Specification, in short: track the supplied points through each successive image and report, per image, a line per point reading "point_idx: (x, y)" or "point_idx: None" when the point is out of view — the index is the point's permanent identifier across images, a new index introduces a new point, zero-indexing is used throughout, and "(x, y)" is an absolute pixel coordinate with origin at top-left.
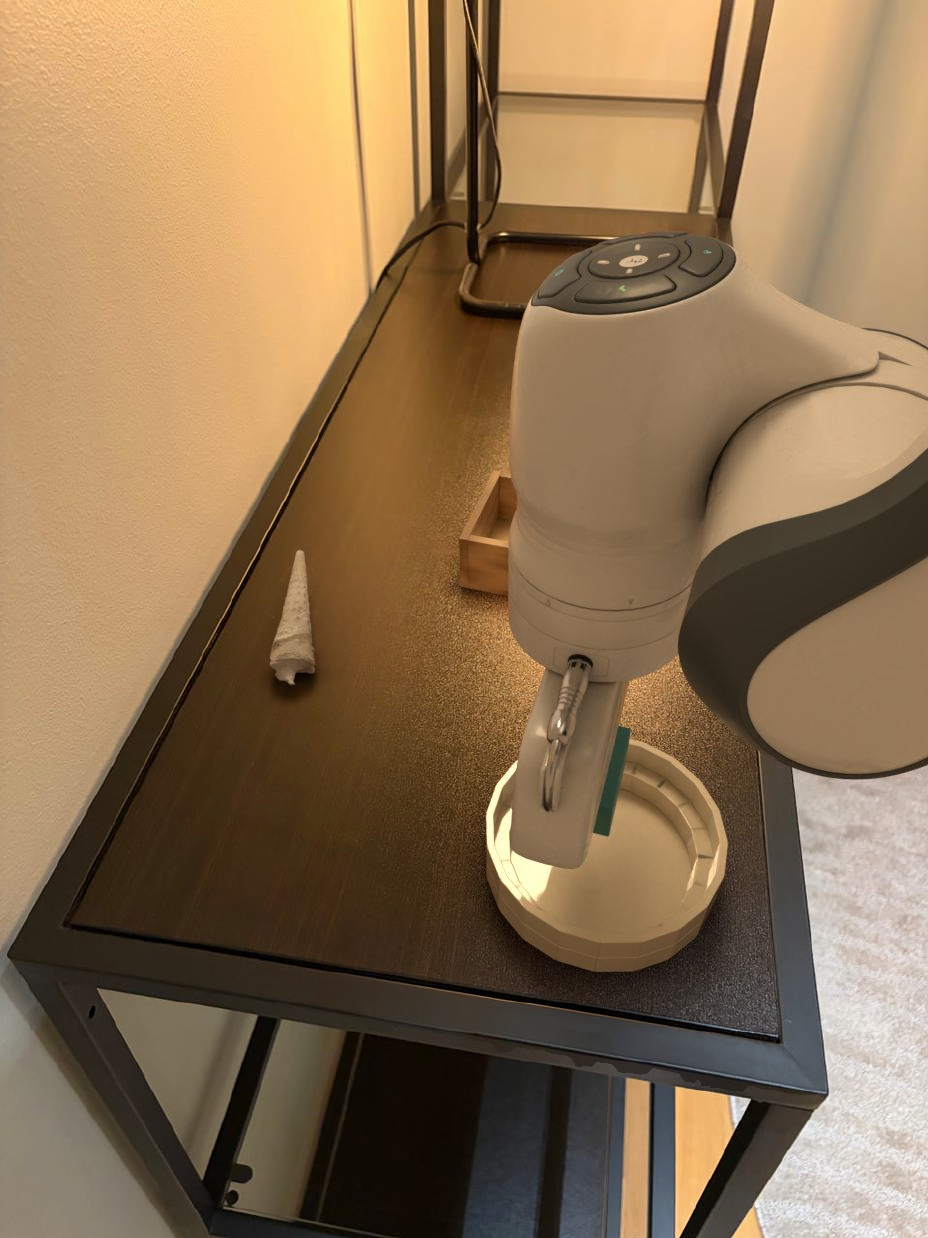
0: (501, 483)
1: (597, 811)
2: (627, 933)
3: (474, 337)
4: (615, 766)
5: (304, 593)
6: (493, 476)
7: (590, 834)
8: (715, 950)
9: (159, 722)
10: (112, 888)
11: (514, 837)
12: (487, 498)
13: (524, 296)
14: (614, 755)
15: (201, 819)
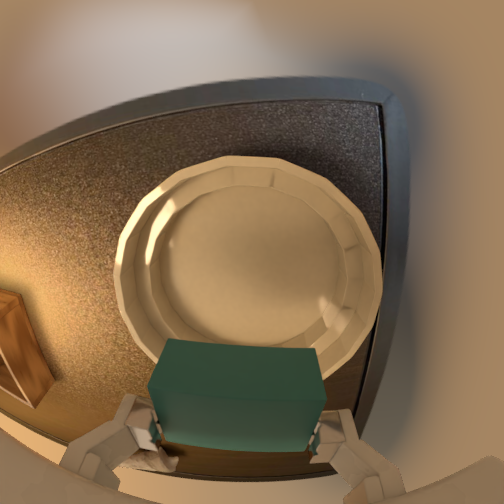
0: None
1: (457, 498)
2: (345, 253)
3: None
4: (236, 404)
5: (122, 462)
6: None
7: (500, 492)
8: (314, 154)
9: (223, 478)
10: (316, 468)
11: None
12: (3, 388)
13: None
14: (214, 407)
15: (274, 462)
